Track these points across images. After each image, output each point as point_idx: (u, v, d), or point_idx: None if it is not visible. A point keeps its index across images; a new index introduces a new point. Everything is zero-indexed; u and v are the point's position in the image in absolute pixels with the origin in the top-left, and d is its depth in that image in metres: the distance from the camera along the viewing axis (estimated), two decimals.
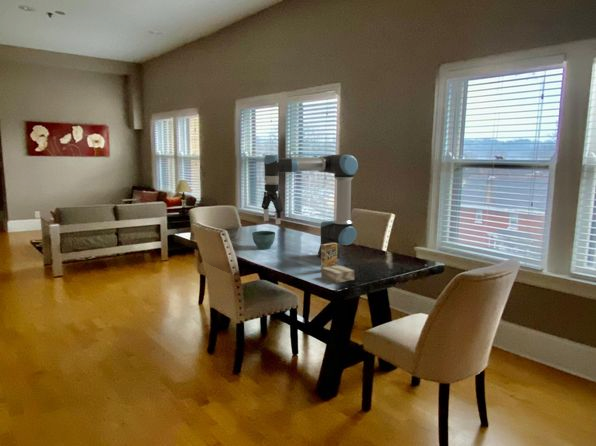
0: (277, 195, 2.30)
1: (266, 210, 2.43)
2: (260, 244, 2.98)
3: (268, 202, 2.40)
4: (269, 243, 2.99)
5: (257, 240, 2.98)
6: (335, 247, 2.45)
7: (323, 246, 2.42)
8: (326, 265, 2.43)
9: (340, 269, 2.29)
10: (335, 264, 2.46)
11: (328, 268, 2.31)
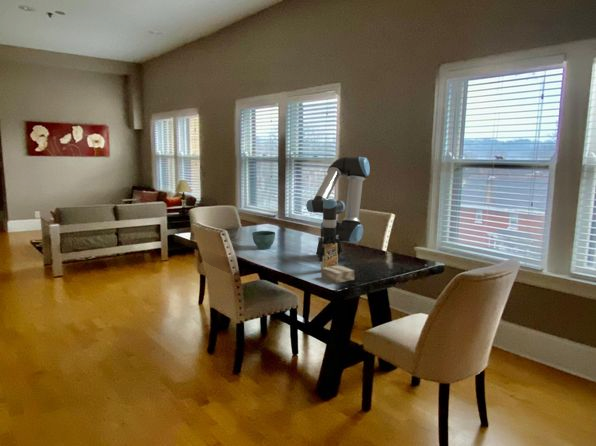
0: (319, 239, 2.41)
1: None
2: (260, 244, 2.98)
3: None
4: (269, 243, 2.99)
5: (257, 240, 2.98)
6: (335, 247, 2.45)
7: (323, 246, 2.42)
8: (326, 265, 2.43)
9: (340, 269, 2.29)
10: (335, 264, 2.46)
11: (328, 268, 2.31)
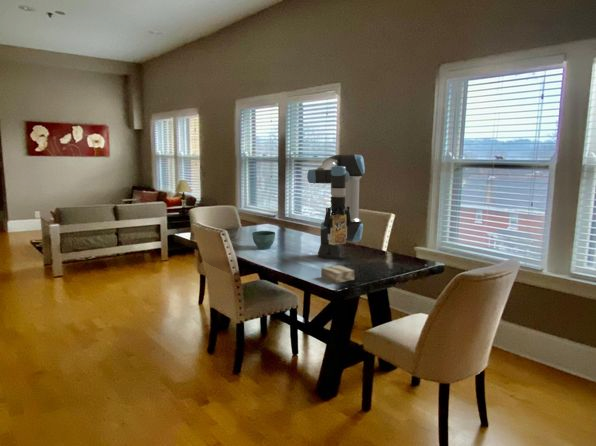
0: (327, 209, 2.22)
1: None
2: (260, 244, 2.98)
3: None
4: (269, 243, 2.99)
5: (257, 240, 2.98)
6: (344, 219, 2.26)
7: (331, 217, 2.23)
8: (334, 238, 2.24)
9: (340, 269, 2.29)
10: (344, 237, 2.28)
11: (328, 268, 2.31)
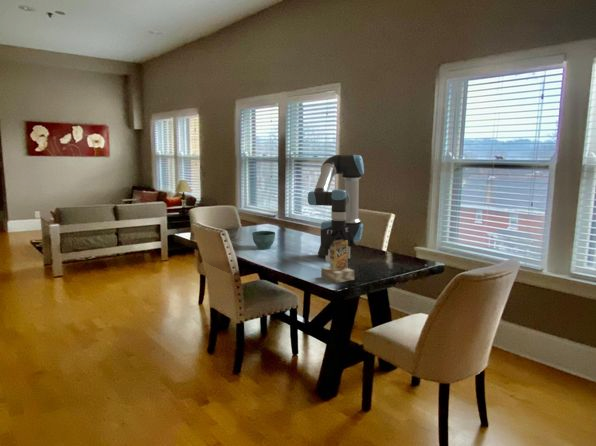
0: (327, 232, 2.23)
1: None
2: (260, 244, 2.98)
3: (344, 239, 2.29)
4: (269, 243, 2.99)
5: (257, 240, 2.98)
6: (345, 244, 2.28)
7: (332, 243, 2.25)
8: (336, 263, 2.26)
9: None
10: (345, 262, 2.29)
11: (328, 268, 2.31)
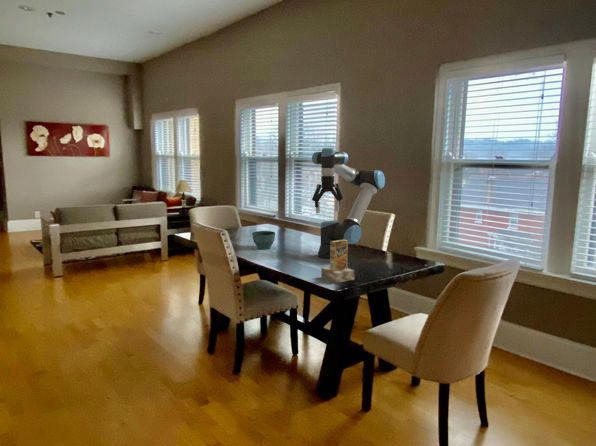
0: (317, 186, 2.46)
1: (336, 201, 2.54)
2: (260, 244, 2.98)
3: (333, 193, 2.52)
4: (269, 243, 2.99)
5: (257, 240, 2.98)
6: (345, 244, 2.28)
7: (332, 243, 2.25)
8: (336, 264, 2.26)
9: None
10: (345, 263, 2.29)
11: (328, 268, 2.31)
